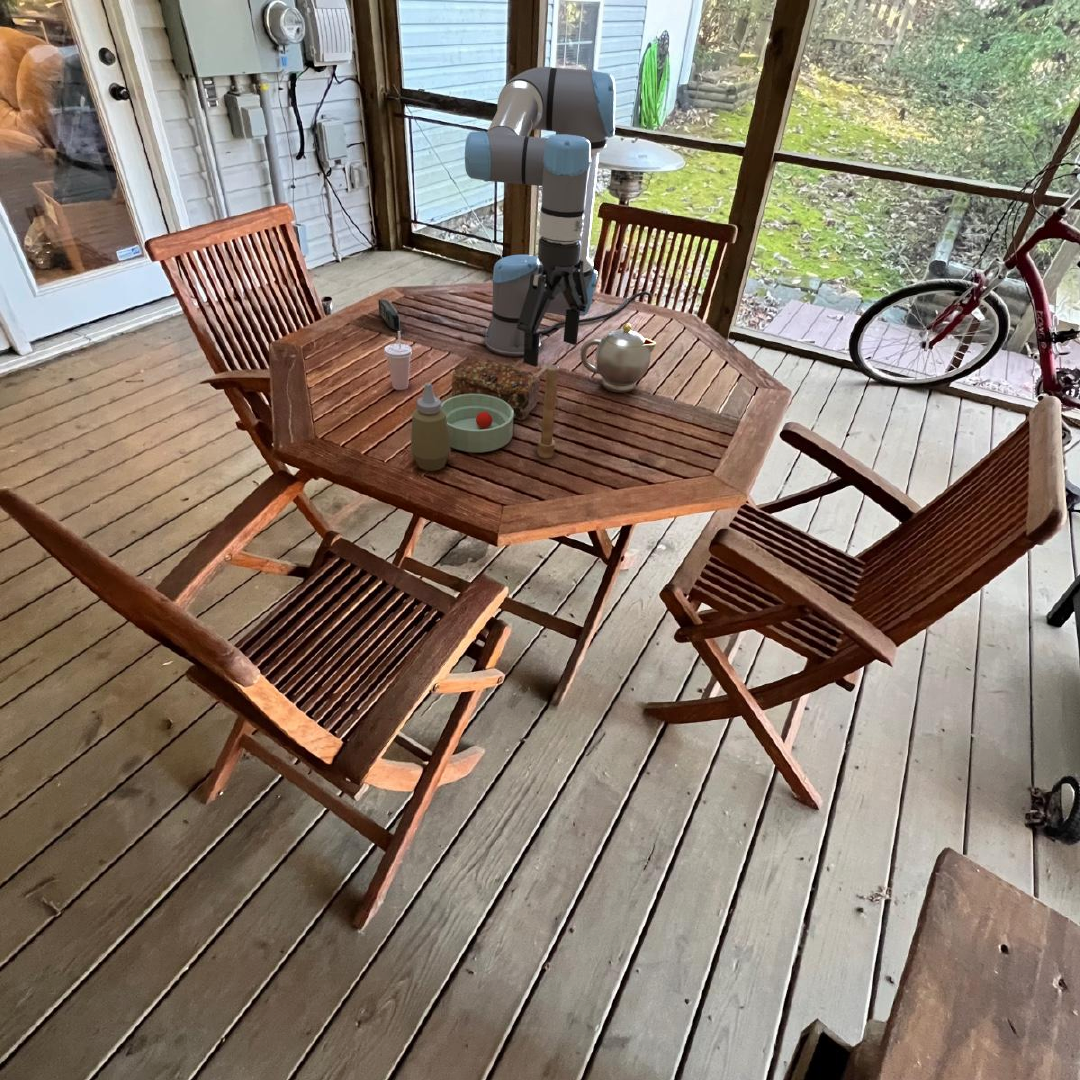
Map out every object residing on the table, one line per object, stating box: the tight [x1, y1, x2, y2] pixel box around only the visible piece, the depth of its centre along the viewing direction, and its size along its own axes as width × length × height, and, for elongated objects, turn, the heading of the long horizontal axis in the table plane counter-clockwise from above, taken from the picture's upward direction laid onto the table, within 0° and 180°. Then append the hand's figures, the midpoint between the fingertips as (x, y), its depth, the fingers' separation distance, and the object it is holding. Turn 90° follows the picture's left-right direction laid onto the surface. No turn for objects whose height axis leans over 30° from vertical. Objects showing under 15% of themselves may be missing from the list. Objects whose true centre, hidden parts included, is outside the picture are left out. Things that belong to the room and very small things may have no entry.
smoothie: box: [383, 330, 413, 391], centre depth 162 cm, size 6×6×14 cm
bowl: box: [441, 394, 514, 454], centre depth 150 cm, size 16×16×6 cm
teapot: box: [579, 323, 657, 394], centre depth 170 cm, size 18×14×16 cm
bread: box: [451, 357, 541, 421], centre depth 160 cm, size 19×11×10 cm, turn 70°
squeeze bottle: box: [410, 382, 452, 472], centre depth 136 cm, size 8×8×18 cm
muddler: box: [536, 364, 560, 459], centre depth 141 cm, size 4×4×20 cm
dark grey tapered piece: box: [377, 299, 403, 334], centre depth 193 cm, size 5×3×15 cm
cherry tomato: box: [476, 412, 492, 428], centre depth 152 cm, size 4×4×4 cm
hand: (550, 353), depth 133 cm, fingers open, 13 cm apart
